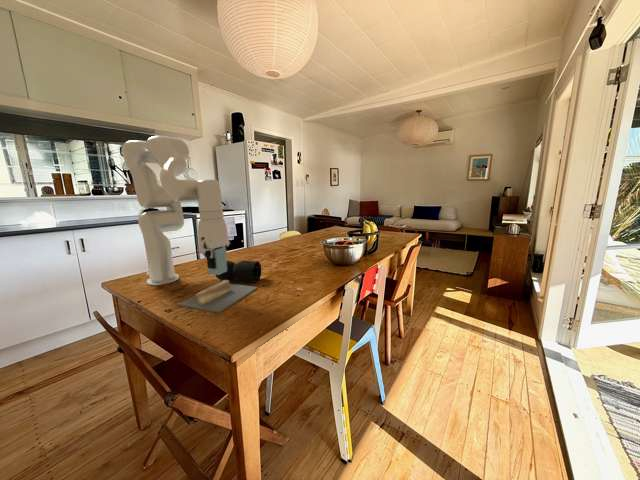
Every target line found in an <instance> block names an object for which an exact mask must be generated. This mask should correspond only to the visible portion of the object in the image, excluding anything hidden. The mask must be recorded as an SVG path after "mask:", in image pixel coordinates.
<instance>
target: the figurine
mask: <svg viewBox="0 0 640 480" xmlns="http://www.w3.org/2000/svg"><path fill="white" fill-rule="evenodd" d="M226 263H227V271H226V272H224V273H222V274H220V275H215V277H216V278H217V279H218V280H220V281H223V280H228V281H229V282H230V281H233V280H235V279H236V281H238V282H241V283H256V282H257V281H260V280H261V275H262V264H261V262H259V261H252V260H242V261H239V262H237V263H235V262H234V261H232V260H226Z"/></svg>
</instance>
